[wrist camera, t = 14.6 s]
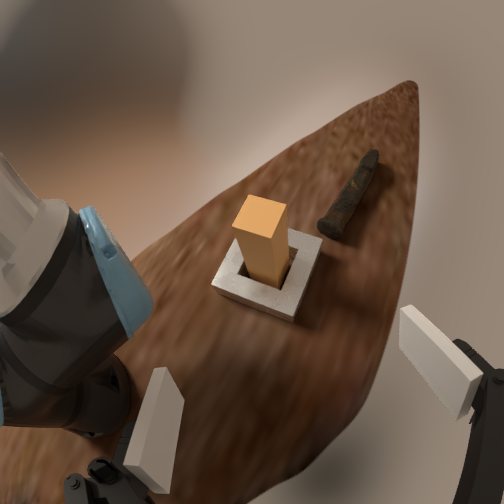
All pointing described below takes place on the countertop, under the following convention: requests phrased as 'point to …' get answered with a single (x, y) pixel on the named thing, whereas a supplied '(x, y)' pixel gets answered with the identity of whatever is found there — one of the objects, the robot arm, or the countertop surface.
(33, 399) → the robot arm
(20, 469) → the countertop surface
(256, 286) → the square frame
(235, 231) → the orange rectangular block
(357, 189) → the hand tool
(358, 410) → the countertop surface
